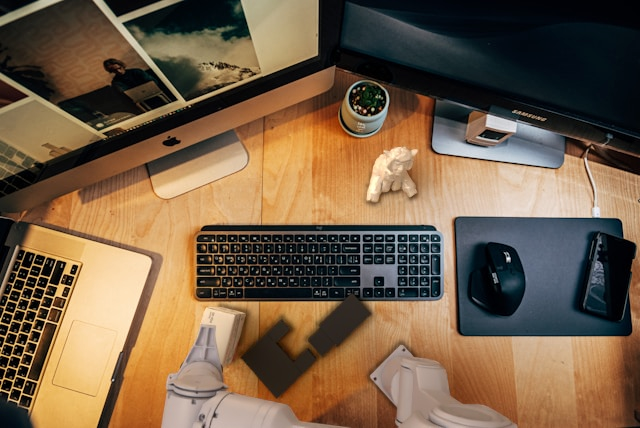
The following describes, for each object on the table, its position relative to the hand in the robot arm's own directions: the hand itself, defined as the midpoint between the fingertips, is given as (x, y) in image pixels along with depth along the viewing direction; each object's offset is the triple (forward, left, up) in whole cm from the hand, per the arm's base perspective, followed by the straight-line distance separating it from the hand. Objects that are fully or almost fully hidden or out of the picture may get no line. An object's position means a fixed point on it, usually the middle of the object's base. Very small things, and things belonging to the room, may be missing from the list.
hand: (201, 369), depth 65 cm
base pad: (-7, -8, -11) cm, 16 cm away
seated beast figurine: (+3, -44, -12) cm, 46 cm away
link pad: (-10, -19, -11) cm, 24 cm away
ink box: (+2, -4, -11) cm, 12 cm away
